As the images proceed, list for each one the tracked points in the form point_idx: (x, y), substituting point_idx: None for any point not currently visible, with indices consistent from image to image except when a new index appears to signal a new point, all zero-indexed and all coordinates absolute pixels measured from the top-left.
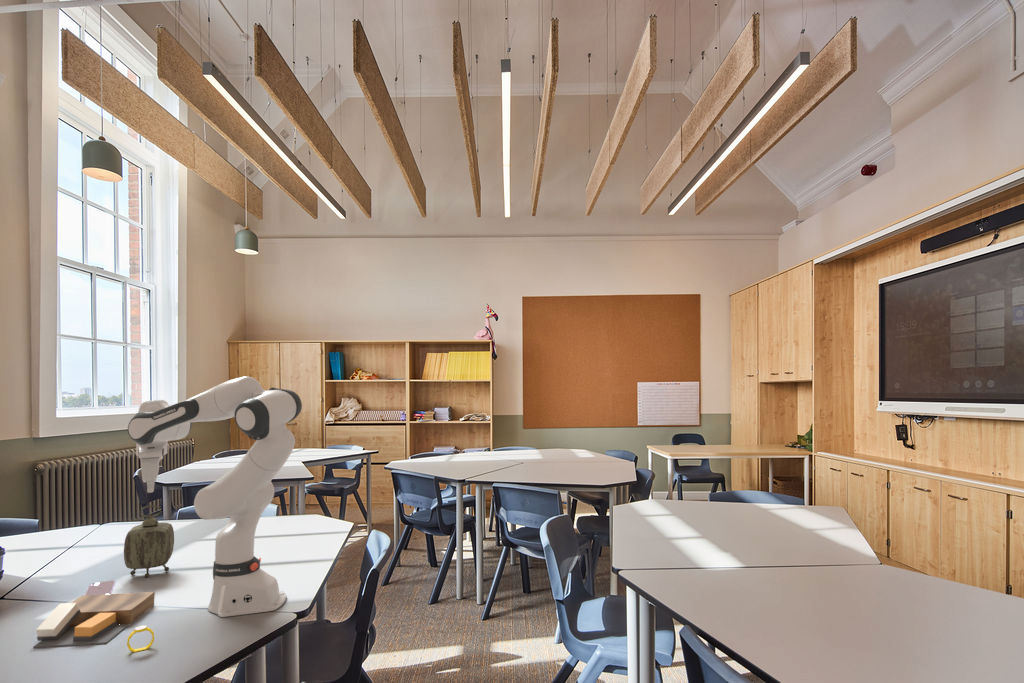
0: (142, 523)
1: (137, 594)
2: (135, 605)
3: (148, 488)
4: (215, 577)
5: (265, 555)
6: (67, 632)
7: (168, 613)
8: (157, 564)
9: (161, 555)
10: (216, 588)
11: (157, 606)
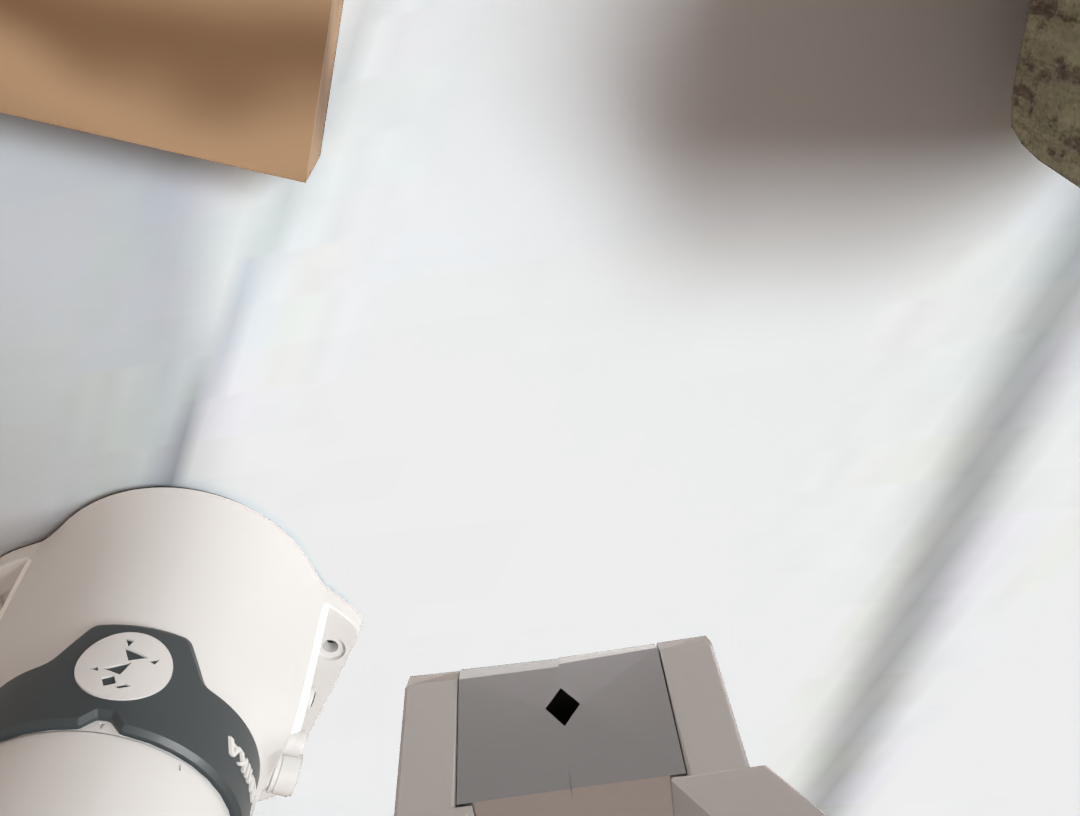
0: None
1: (278, 59)
2: (9, 103)
3: (409, 798)
4: (43, 659)
5: (1066, 668)
6: None
7: (126, 279)
8: (1021, 76)
9: (1052, 128)
10: (36, 622)
11: (283, 184)
